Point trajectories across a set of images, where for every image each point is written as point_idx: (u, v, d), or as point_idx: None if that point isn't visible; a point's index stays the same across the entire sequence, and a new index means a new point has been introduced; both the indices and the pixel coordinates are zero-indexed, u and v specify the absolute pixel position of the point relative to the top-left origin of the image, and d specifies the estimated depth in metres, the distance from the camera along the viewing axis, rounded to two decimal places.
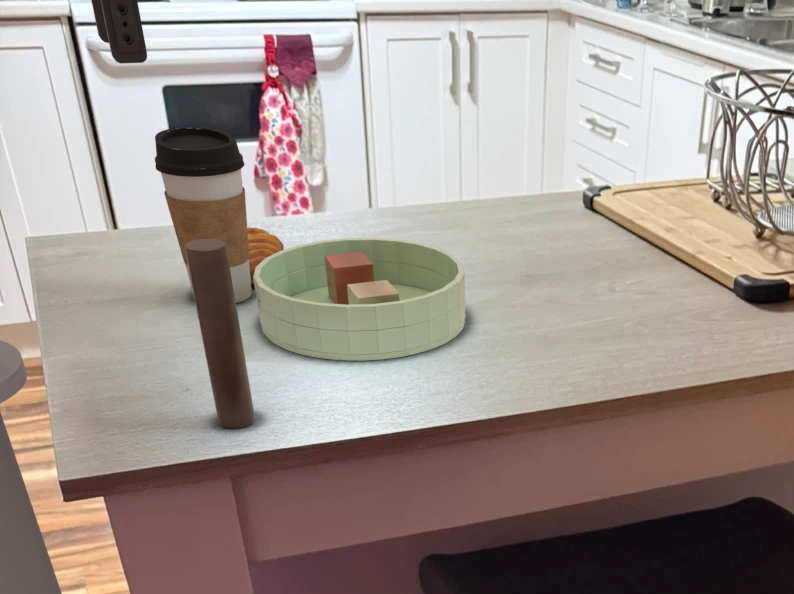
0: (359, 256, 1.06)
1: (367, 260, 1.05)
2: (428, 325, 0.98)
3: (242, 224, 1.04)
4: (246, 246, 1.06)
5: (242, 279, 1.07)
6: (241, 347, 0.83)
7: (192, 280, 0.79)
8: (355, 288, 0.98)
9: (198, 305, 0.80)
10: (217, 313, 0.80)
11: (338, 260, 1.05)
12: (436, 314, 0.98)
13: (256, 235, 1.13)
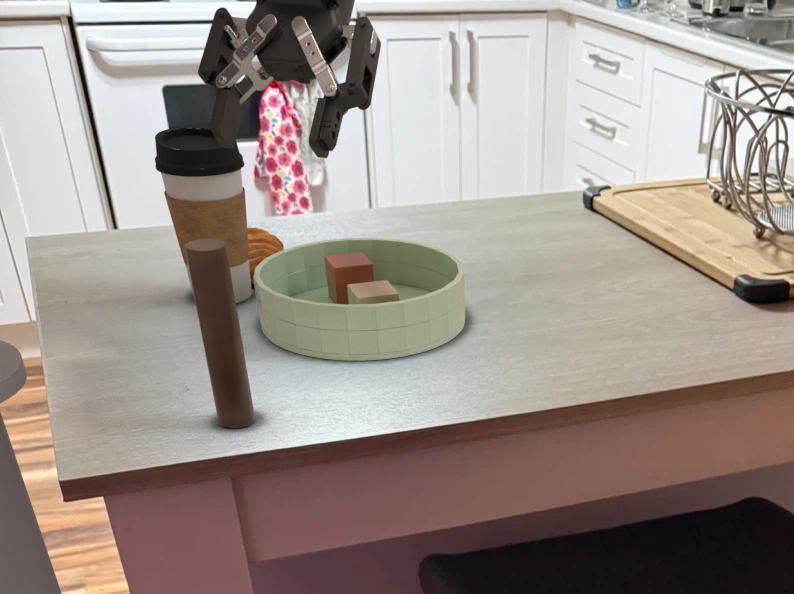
0: (359, 256, 1.06)
1: (367, 260, 1.05)
2: (428, 325, 0.98)
3: (242, 224, 1.04)
4: (246, 246, 1.06)
5: (242, 279, 1.07)
6: (241, 347, 0.83)
7: (192, 280, 0.79)
8: (355, 288, 0.98)
9: (198, 305, 0.80)
10: (217, 313, 0.80)
11: (338, 260, 1.05)
12: (436, 314, 0.98)
13: (256, 235, 1.13)
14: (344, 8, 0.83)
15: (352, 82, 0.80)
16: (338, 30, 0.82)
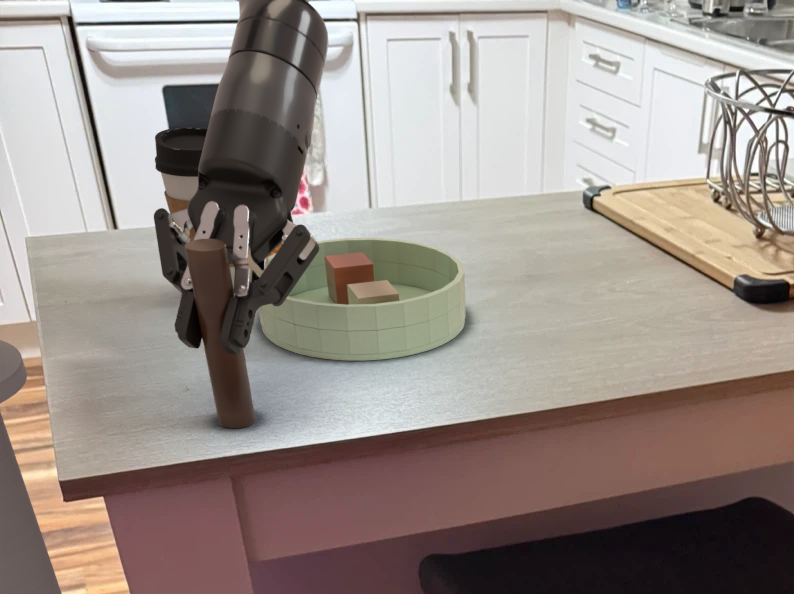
0: (359, 256, 1.06)
1: (367, 260, 1.05)
2: (428, 325, 0.98)
3: None
4: None
5: None
6: None
7: (192, 280, 0.79)
8: (355, 288, 0.98)
9: (198, 305, 0.80)
10: (217, 313, 0.80)
11: (338, 260, 1.05)
12: (436, 314, 0.98)
13: None
14: (289, 194, 0.81)
15: (263, 284, 0.79)
16: (278, 223, 0.80)
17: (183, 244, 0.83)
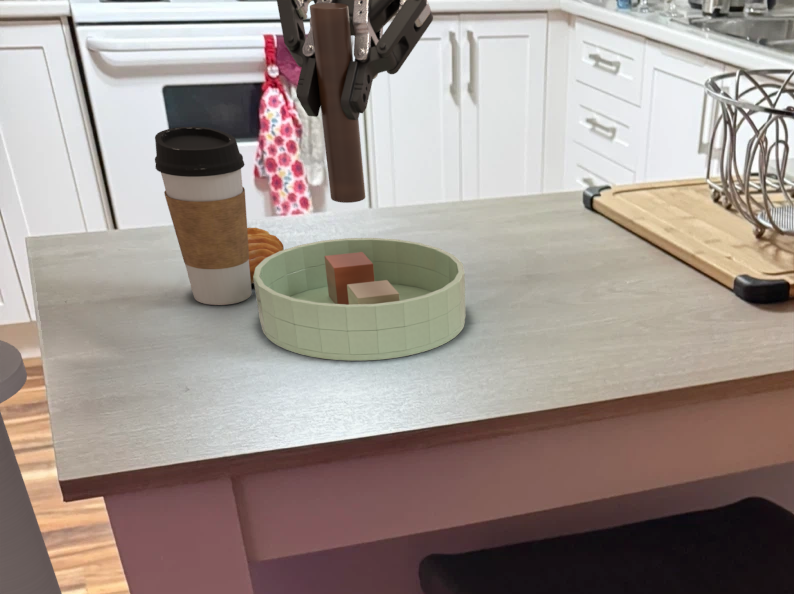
0: (359, 256, 1.06)
1: (367, 260, 1.05)
2: (428, 325, 0.98)
3: (242, 224, 1.04)
4: (246, 246, 1.06)
5: (242, 279, 1.07)
6: None
7: (315, 42, 0.83)
8: (355, 288, 0.98)
9: (320, 69, 0.84)
10: (338, 76, 0.84)
11: (338, 260, 1.05)
12: (436, 314, 0.98)
13: (256, 235, 1.13)
14: None
15: (382, 46, 0.83)
16: None
17: (301, 19, 0.87)
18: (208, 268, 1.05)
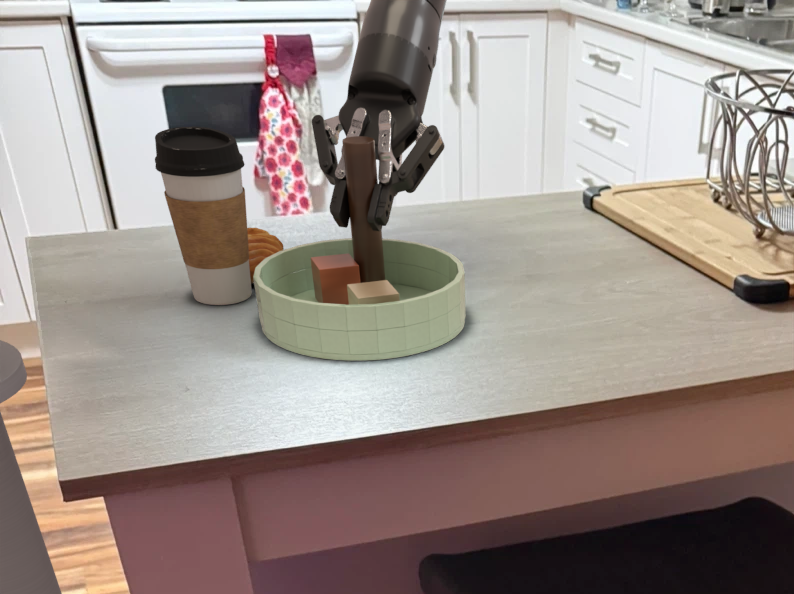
0: (345, 258, 1.05)
1: (353, 261, 1.04)
2: (428, 325, 0.98)
3: (242, 224, 1.04)
4: (246, 246, 1.06)
5: (242, 279, 1.07)
6: None
7: (347, 169, 0.99)
8: (355, 288, 0.98)
9: (350, 190, 1.00)
10: (365, 196, 1.00)
11: (324, 261, 1.04)
12: (436, 314, 0.98)
13: (256, 235, 1.13)
14: (420, 103, 1.01)
15: (402, 173, 0.99)
16: (413, 125, 1.00)
17: (333, 145, 1.03)
18: (208, 268, 1.05)
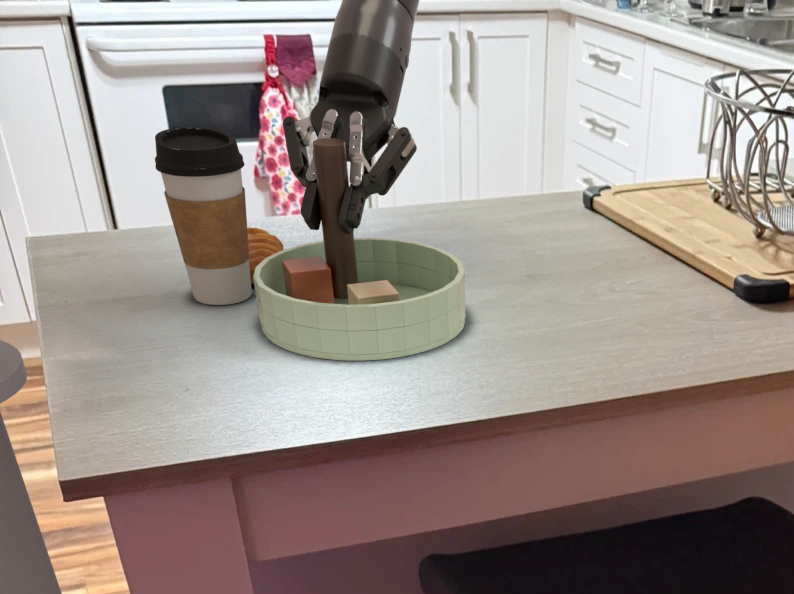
0: (317, 261, 1.04)
1: (325, 265, 1.03)
2: (428, 325, 0.98)
3: (242, 224, 1.04)
4: (246, 246, 1.06)
5: (242, 279, 1.07)
6: None
7: (317, 171, 0.98)
8: (355, 288, 0.98)
9: (321, 193, 0.99)
10: (336, 198, 0.99)
11: (295, 264, 1.03)
12: (436, 314, 0.98)
13: (256, 235, 1.13)
14: (392, 104, 1.00)
15: (374, 175, 0.98)
16: (385, 127, 0.99)
17: (304, 146, 1.02)
18: (208, 268, 1.05)
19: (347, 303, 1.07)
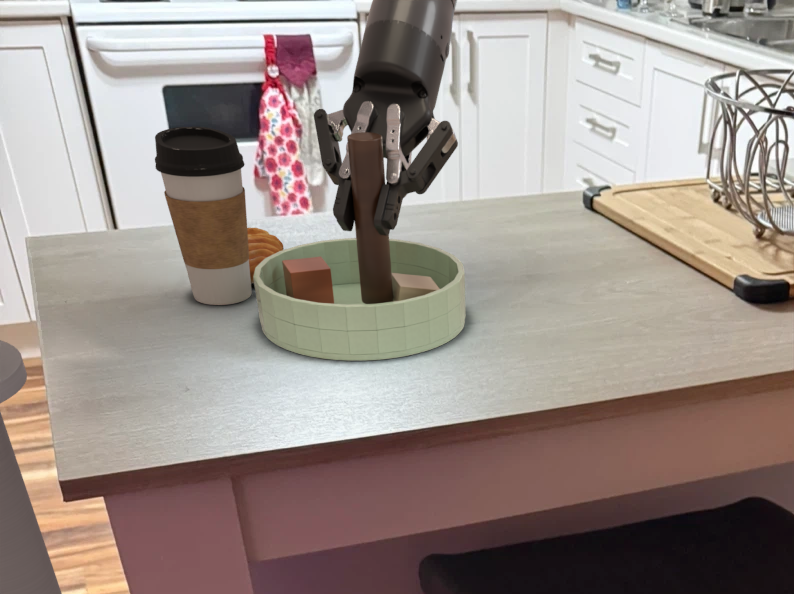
0: (317, 261, 1.04)
1: (325, 265, 1.03)
2: (428, 325, 0.98)
3: (242, 224, 1.04)
4: (246, 246, 1.06)
5: (242, 279, 1.07)
6: None
7: (352, 168, 0.91)
8: (398, 277, 0.99)
9: (355, 191, 0.92)
10: (372, 197, 0.92)
11: (295, 264, 1.03)
12: (436, 314, 0.98)
13: (256, 235, 1.13)
14: (432, 96, 0.93)
15: (412, 172, 0.91)
16: (425, 121, 0.92)
17: (337, 142, 0.95)
18: (208, 268, 1.05)
19: (347, 303, 1.07)
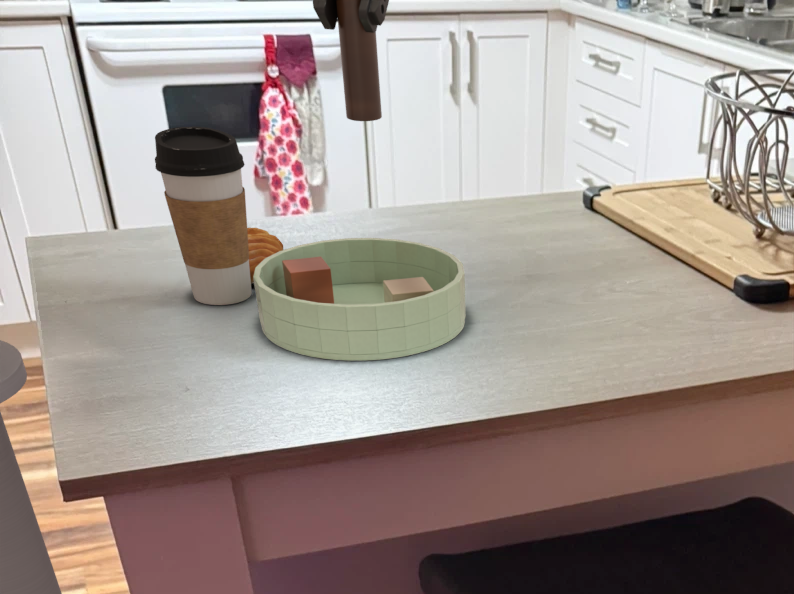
0: (317, 261, 1.04)
1: (325, 265, 1.03)
2: (428, 325, 0.98)
3: (242, 224, 1.04)
4: (246, 246, 1.06)
5: (242, 279, 1.07)
6: None
7: None
8: (390, 284, 0.99)
9: None
10: None
11: (295, 264, 1.03)
12: (436, 314, 0.98)
13: (256, 235, 1.13)
14: None
15: None
16: None
17: None
18: (208, 268, 1.05)
19: (347, 303, 1.07)
